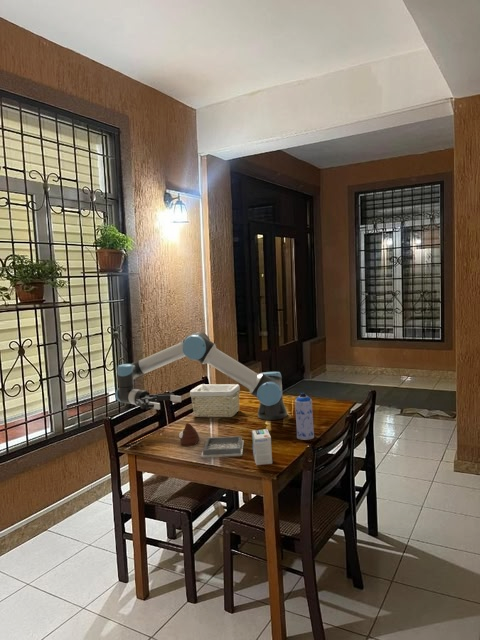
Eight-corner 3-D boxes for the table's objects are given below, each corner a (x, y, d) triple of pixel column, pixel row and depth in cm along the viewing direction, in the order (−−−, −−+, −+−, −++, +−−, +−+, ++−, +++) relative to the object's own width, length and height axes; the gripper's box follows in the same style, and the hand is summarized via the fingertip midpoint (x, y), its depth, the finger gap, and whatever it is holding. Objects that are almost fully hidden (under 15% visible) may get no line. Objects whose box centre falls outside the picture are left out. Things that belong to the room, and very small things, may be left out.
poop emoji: (195, 446, 215) (194, 426, 215) (177, 446, 217) (175, 426, 216) (201, 438, 225) (200, 419, 224) (183, 438, 227) (182, 419, 226)
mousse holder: (243, 442, 216) (243, 435, 216) (242, 455, 200) (241, 448, 200) (205, 444, 217) (205, 437, 217) (201, 457, 201) (200, 450, 201)
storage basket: (190, 417, 260) (188, 390, 258) (202, 409, 275) (200, 383, 274) (232, 419, 252) (230, 391, 251) (242, 410, 268) (240, 383, 266)
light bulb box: (253, 455, 200) (251, 430, 199) (269, 453, 201) (267, 428, 199) (256, 465, 189) (254, 438, 188) (273, 463, 190) (271, 437, 189)
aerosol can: (316, 434, 219) (314, 391, 217) (310, 440, 212) (307, 396, 210) (300, 433, 223) (298, 390, 221) (293, 438, 216) (291, 394, 214)
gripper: (159, 399, 249) (189, 404, 236) (120, 411, 229) (150, 417, 216) (158, 384, 248) (188, 388, 235) (118, 396, 228) (149, 401, 215)
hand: (170, 402), depth 225 cm, fingers open, 13 cm apart
